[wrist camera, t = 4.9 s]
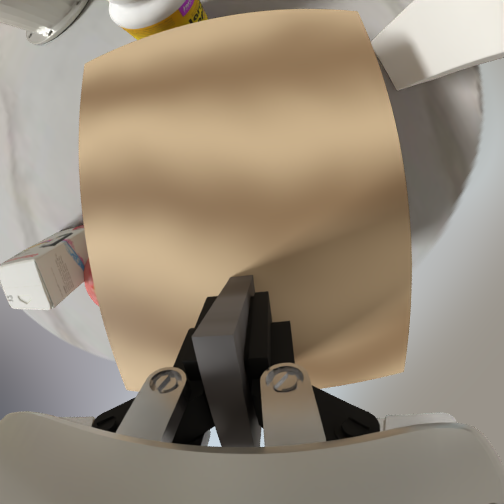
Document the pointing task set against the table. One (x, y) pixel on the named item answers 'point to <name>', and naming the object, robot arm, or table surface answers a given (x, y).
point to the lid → (247, 201)
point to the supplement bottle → (154, 15)
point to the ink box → (45, 271)
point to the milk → (440, 39)
